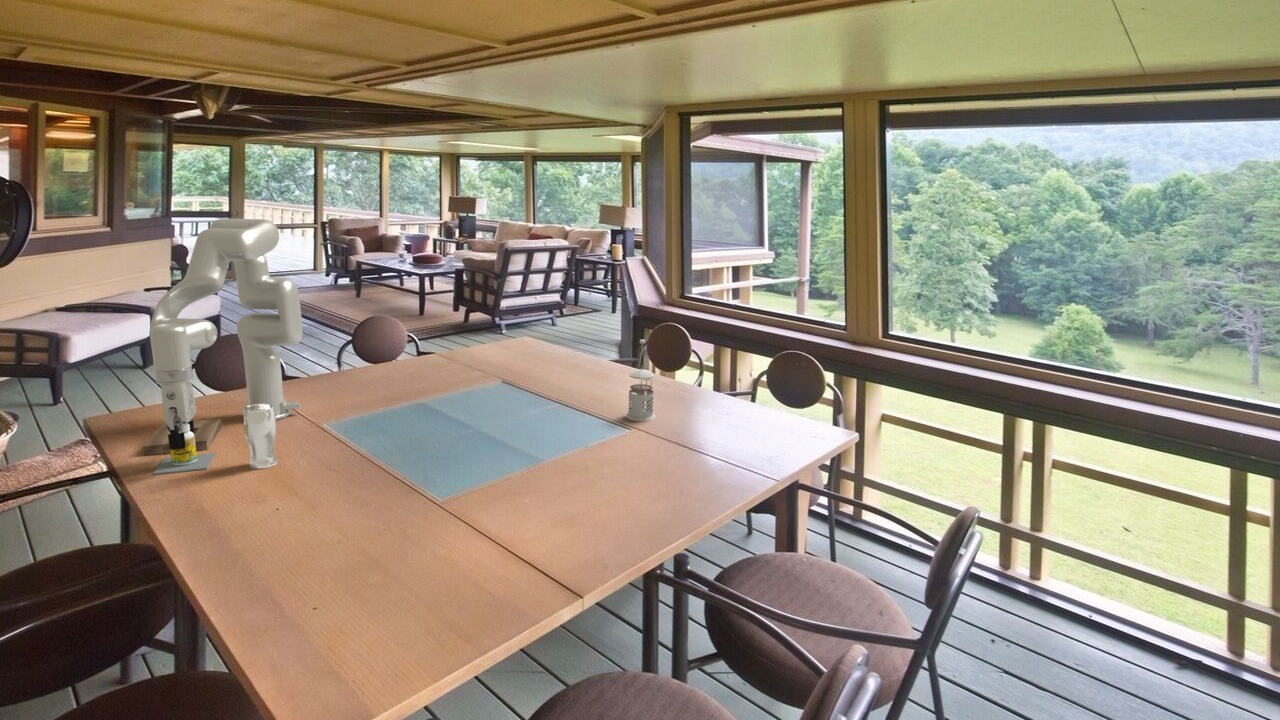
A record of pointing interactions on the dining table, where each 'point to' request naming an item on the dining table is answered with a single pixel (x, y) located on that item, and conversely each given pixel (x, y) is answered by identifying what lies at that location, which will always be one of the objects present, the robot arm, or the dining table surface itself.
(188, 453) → the supplement bottle
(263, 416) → the beer glass
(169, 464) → the rubber mat
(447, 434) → the dining table surface
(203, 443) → the brown board with hole
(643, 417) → the french press
